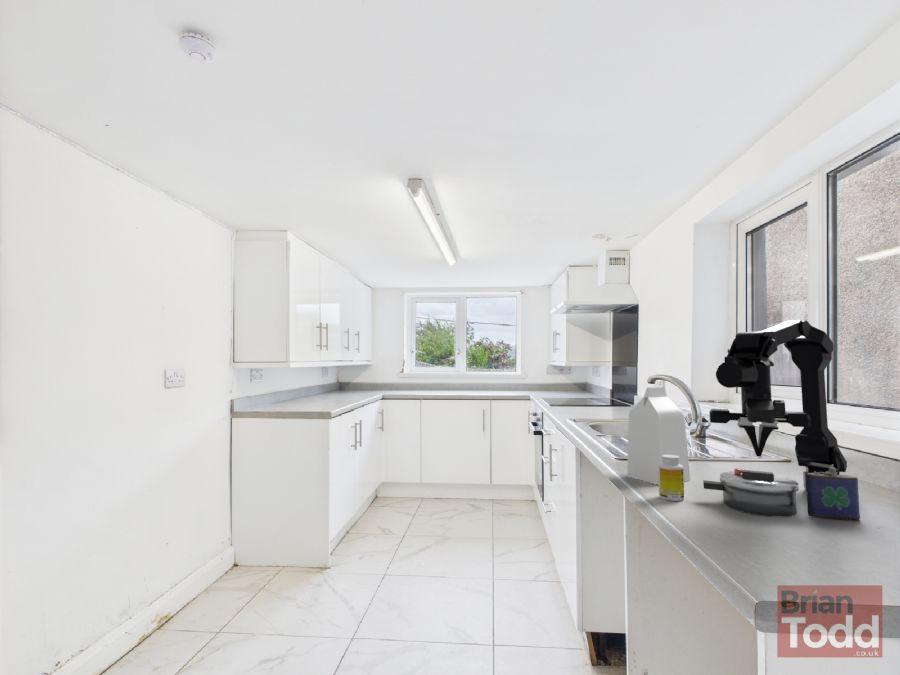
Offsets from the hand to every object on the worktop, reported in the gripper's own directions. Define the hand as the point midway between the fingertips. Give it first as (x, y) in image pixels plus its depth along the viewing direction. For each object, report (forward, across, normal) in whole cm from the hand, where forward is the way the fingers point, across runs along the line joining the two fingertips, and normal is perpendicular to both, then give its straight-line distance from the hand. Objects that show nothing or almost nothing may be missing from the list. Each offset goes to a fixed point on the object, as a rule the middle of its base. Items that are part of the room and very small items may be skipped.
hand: (758, 456), depth 105 cm
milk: (+12, -22, +21) cm, 33 cm away
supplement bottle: (+12, -18, +1) cm, 22 cm away
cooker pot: (+12, -2, +3) cm, 13 cm away
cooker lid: (+7, 0, +3) cm, 7 cm away
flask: (+12, +13, +1) cm, 18 cm away
